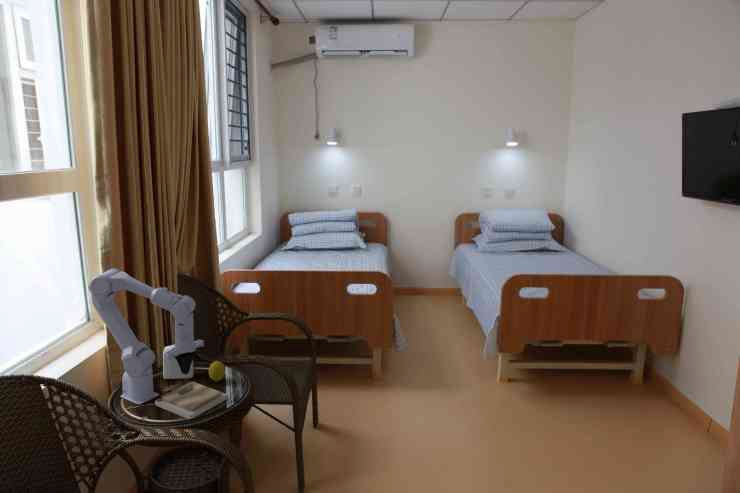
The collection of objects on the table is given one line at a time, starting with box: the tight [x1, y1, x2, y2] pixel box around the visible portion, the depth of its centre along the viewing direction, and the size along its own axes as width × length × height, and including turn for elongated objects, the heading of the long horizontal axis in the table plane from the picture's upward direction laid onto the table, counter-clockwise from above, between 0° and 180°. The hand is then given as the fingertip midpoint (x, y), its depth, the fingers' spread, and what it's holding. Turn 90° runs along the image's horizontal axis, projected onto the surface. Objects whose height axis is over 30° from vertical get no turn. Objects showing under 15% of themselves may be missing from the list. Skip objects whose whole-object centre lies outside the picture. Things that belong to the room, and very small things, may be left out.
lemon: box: [208, 360, 226, 383], centre depth 180 cm, size 6×6×8 cm
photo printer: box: [162, 344, 194, 380], centre depth 182 cm, size 10×4×12 cm, turn 103°
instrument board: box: [160, 381, 223, 411], centre depth 166 cm, size 14×13×3 cm
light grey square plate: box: [154, 380, 229, 420], centre depth 166 cm, size 16×16×2 cm
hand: (185, 373), depth 166 cm, fingers closed
